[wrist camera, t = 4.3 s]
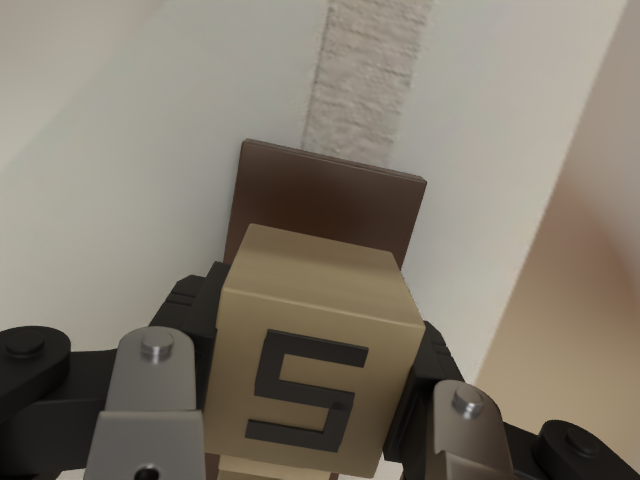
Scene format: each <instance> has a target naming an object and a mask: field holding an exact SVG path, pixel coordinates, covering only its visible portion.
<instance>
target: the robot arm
mask: <svg viewBox="0 0 640 480" xmlns="http://www.w3.org/2000/svg"><path fill="white" fill-rule="evenodd" d="M231 266H232V264H227V263H222V262H217V261H215V262H214V264H213V265H212V267H211V269H210V271H209V273H208V275H207V277H201V276H195V275H189V276H187V277H185V278H183V279H182V280H180V281H178V282H177V283H176V284H175V286H174V288H173V289H172V291H171V293H170V294H169V295H168V297H167V298H166V300H165V302H164V303H163V304H162V306H161V307H160V309H159V310H158V312H157V313H156V315H155V316H154V318H153V319H152V321H151V322H150V324H149V325H148V327H144V328H139V329H136V330H134V331H131V332H129V333H128V334H126V335H125V336H124V337H123V338H122V339H121V340H120V342H119V345H118V348H117V349H112V350H106V351H82V352H71V342H70V339H69V338H68V336H67V335H66V334H64V333H63V332H61V331H59V330H57V329H54V328H50V327H44V326H23V327H16V328H11V329H7V330H4V331H1V332H0V480H56V479H57V477H58V476H59V475H60V474H61V472H62V471H66V470H75V469H83V468H86V469H85V474H84V478H83V480H206V469H205V449H204V429H203V413H204V407H205V401H206V395H207V389H208V384H209V378H210V372H211V366H212V360H213V355H214V349H215V343H216V337H217V332H218V329H217V328H216V327H215V325H216V319H217V313H218V307H219V301H220V295H221V289H222V287H223V285H224V282H225V280H226V278H227V275H228V273H229V271H230V268H231ZM423 322H424V324H425V327H426V329H425V332H424V335H423V337H422V340H421V343H420V346H419V349H418V352H417V355H416V357H415V360H414V363H413V365H412V367H411V369H410V372H409V375H408V378H407V381H406V384H405V387H404V389H403V392H402V395H401V398H400V401H399V404H398V406H397V409H396V412H395V415H394V418H393V421H392V424H391V426H390V429H389V432H388V435H387V438H386V441H385V444H384V446H383V454H384V460H386V461H392V462H398V463H402V465H403V472H402V475H401V477H400V480H640V475H639V474H638V473H637V472H636V471H635V470H634V469H632V468H631V467H630V466H629V465H628V464H627V463H626V462H624V461H623V460H622V459H621V458H620V457H619V456H618V455H617V454H616V453H614V452H613V451H612V450H611V449H610V448H609V447H608V446H606V445H605V444H604V443H603V442H602V441H601V440H600V439H598V438H597V437H596V436H594V435H593V434H591V433H589V432H588V431H586V430H584V429H583V428H581V427H579V426H577V425H574V424H572V423H569V422H566V421H562V420H549V421H547V422H545V423H544V424H543V426H542V428H541V430H540V432H539V434H538V435H535V434H533V433H530V432H528V431H525V430H523V429H520V428H518V427H515V426H513V425H510V424H508V423H506V422H503V420H502V416H501V412H500V409H499V408H498V406H497V404H496V403H495V402H494V401H493V400H492V399H491V398H490V397H489V396H488V395H487V394H485V393H484V392H483V391H481V390H479V389H478V388H476V387H474V386H472V385H470V384H467V383H465V381H464V379H463V377H462V375H461V373H460V371H459V369H458V367H457V365H456V363H455V361H454V359H453V357H451V353H450V351H449V349H448V347H446V343H445V341H444V339H443V337H442V335H441V333H440V332H439V331H438V330H437V329H436V328H435V327H434V326H432V325H431V324H430V323H429V322H428V321H424V320H423Z"/></svg>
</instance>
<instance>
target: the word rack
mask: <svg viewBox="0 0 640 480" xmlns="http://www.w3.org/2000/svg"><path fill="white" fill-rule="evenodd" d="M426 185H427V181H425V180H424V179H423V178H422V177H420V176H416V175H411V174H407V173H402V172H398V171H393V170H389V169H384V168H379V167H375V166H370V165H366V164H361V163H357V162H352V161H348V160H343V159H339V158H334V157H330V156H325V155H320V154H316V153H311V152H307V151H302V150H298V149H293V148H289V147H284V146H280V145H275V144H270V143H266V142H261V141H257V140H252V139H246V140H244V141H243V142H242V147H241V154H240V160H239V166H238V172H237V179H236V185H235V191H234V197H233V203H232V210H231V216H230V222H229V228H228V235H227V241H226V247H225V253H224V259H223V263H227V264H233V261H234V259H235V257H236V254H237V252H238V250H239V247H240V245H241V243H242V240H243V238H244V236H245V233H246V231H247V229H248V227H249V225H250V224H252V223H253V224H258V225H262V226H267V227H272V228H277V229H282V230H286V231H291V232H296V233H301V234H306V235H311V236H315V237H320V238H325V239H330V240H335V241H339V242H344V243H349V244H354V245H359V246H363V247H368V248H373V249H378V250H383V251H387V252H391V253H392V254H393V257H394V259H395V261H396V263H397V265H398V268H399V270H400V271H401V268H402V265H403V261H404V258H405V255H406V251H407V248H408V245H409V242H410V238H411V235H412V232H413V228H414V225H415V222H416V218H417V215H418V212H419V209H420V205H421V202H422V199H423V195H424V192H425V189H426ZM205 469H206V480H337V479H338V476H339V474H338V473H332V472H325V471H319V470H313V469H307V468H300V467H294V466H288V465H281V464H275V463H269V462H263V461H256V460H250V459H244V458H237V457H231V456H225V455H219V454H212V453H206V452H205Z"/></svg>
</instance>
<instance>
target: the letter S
mask: <svg viewBox="0 0 640 480" xmlns="http://www.w3.org/2000/svg"><path fill="white" fill-rule="evenodd" d="M215 327H216V328H217V329H218V332H217V337H216V343H215V349H214V355H213V360H212V366H211V372H210V378H209V384H208V389H207V395H206V401H205V407H204V413H203V429H204V449H205V452H206V453H212V454H219V455H225V456H231V457H237V458H244V459H250V460H256V461H263V462H269V463H275V464H281V465H288V466H294V467H300V468H307V469H313V470H319V471H325V472H332V473H338V474H344V475H351V476H357V477H363V478H369V479H371V478H373V477H374V474H375V472H376V469H377V466H378V463H379V460H380V457H381V454H382V452H383V446H384V444H385V441H386V438H387V435H388V432H389V429H390V426H391V424H392V421H393V418H394V415H395V412H396V409H397V406H398V404H399V401H400V398H401V395H402V392H403V389H404V387H405V384H406V381H407V378H408V375H409V372H410V369H411V367H412V365H413V363H414V360H415V357H416V355H417V352H418V349H419V346H420V343H421V340H422V337H423V335H424V332H425V329H426V327H425V324H424V322H423V320H422V317H421V315H420V313H419V311H418V309H417V307H416V304H415V302H414V300H413V298H412V296H411V294H410V291H409V289H408V287H407V285H406V283H405V281H404V278H403V276H402V274H401V272H400V270H399V268H398V265H397V263H396V261H395V259H394V257H393V254H392V253H391V252H387V251H383V250H378V249H373V248H368V247H363V246H359V245H354V244H349V243H344V242H339V241H335V240H330V239H325V238H320V237H315V236H311V235H306V234H301V233H296V232H291V231H286V230H282V229H277V228H272V227H267V226H262V225H258V224H253V223H252V224H250V225H249V227H248V229H247V231H246V233H245V236H244V238H243V240H242V243H241V245H240V247H239V250H238V252H237V254H236V257H235V259H234V261H233V264H232V266H231V268H230V271H229V273H228V275H227V278H226V280H225V282H224V285H223V287H222V289H221V295H220V301H219V307H218V313H217V319H216V325H215Z"/></svg>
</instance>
